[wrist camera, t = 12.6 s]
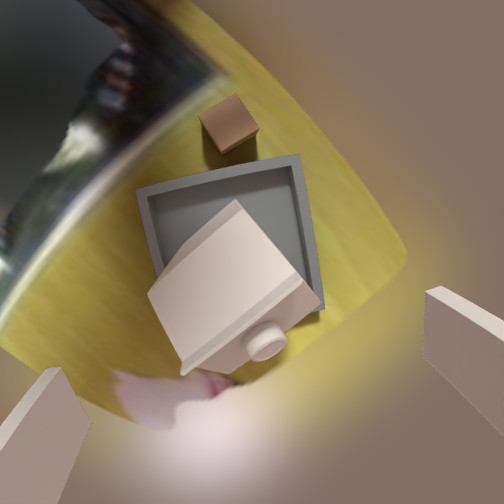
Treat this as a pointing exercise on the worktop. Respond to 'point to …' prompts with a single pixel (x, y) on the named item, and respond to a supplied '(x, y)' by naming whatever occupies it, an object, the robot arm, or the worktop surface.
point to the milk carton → (229, 295)
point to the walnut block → (228, 124)
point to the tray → (251, 199)
